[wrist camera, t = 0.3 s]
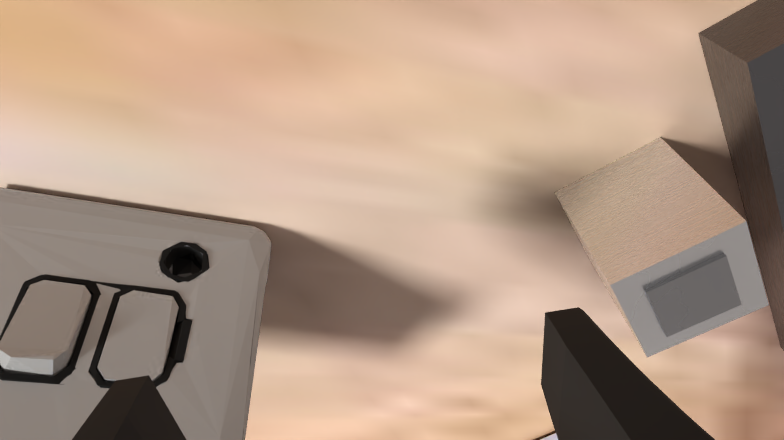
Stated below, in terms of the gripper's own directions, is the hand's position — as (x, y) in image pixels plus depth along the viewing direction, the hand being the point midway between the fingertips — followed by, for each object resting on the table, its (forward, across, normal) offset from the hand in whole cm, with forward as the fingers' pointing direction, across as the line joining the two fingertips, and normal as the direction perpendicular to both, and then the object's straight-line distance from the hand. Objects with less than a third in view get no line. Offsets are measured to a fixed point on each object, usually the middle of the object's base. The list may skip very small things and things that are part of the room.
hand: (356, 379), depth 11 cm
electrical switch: (+10, +8, +4) cm, 13 cm away
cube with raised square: (+10, -10, +5) cm, 15 cm away
